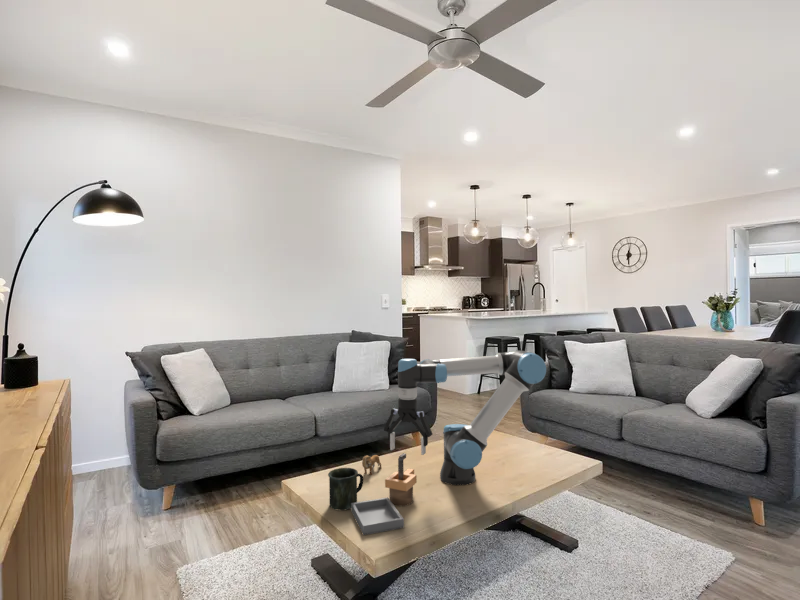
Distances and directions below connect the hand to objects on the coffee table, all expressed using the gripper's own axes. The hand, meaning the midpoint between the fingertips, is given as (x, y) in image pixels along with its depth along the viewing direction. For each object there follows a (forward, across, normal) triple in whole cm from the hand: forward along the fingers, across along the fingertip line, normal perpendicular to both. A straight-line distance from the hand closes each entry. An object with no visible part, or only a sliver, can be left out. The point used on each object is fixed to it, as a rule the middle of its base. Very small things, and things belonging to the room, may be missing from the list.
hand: (407, 451), depth 175 cm
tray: (+17, -1, -24) cm, 29 cm away
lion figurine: (+17, -24, +14) cm, 33 cm away
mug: (+17, -17, -17) cm, 30 cm away
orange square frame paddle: (+11, 0, -4) cm, 12 cm away
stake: (+17, 0, -7) cm, 18 cm away
